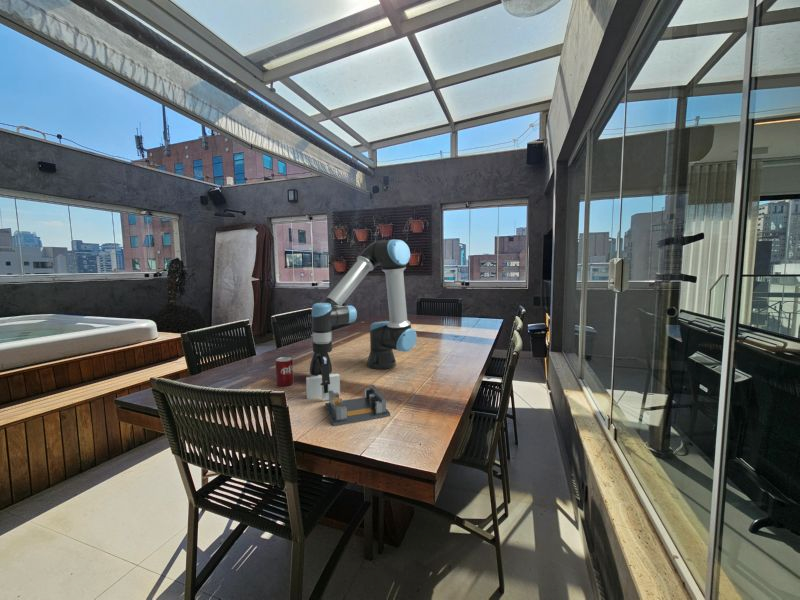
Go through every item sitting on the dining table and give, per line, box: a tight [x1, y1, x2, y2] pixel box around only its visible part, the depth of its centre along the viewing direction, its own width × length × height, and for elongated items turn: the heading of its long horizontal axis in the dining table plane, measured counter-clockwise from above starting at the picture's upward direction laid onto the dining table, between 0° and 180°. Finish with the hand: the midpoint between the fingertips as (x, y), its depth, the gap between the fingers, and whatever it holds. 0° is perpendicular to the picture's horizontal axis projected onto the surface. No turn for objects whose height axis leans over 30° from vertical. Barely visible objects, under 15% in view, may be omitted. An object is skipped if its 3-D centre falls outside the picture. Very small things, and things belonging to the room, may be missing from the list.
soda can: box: [274, 356, 295, 389], centre depth 147 cm, size 7×7×12 cm
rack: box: [324, 384, 391, 427], centre depth 122 cm, size 20×17×7 cm
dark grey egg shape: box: [309, 352, 333, 377], centre depth 154 cm, size 10×10×15 cm
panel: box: [305, 373, 341, 400], centre depth 136 cm, size 13×3×8 cm, turn 112°
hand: (323, 394), depth 137 cm, fingers open, 11 cm apart
